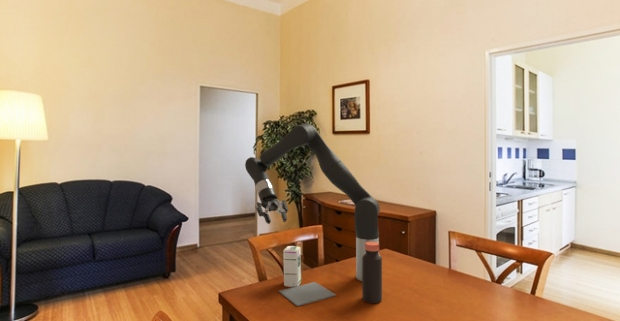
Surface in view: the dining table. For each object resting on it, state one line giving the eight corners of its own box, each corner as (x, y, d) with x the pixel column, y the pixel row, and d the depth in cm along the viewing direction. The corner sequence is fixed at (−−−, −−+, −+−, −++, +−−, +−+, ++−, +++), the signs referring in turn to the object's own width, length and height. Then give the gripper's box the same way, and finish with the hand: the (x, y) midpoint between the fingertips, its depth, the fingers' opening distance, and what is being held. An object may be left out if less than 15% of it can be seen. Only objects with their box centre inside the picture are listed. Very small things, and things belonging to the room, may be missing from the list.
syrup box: (298, 287, 130) (297, 250, 129) (283, 286, 131) (283, 249, 130) (301, 281, 135) (301, 246, 135) (287, 280, 136) (287, 245, 136)
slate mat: (314, 283, 134) (314, 281, 134) (335, 295, 122) (335, 294, 122) (278, 292, 125) (278, 290, 125) (297, 306, 113) (297, 305, 113)
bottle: (370, 305, 114) (370, 247, 114) (358, 297, 120) (358, 242, 120) (385, 301, 117) (385, 244, 117) (373, 294, 123) (373, 240, 123)
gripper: (253, 187, 147) (264, 218, 137) (282, 185, 154) (295, 215, 145) (249, 198, 152) (259, 228, 142) (277, 196, 159) (289, 225, 149)
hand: (277, 221), depth 143 cm, fingers open, 7 cm apart
